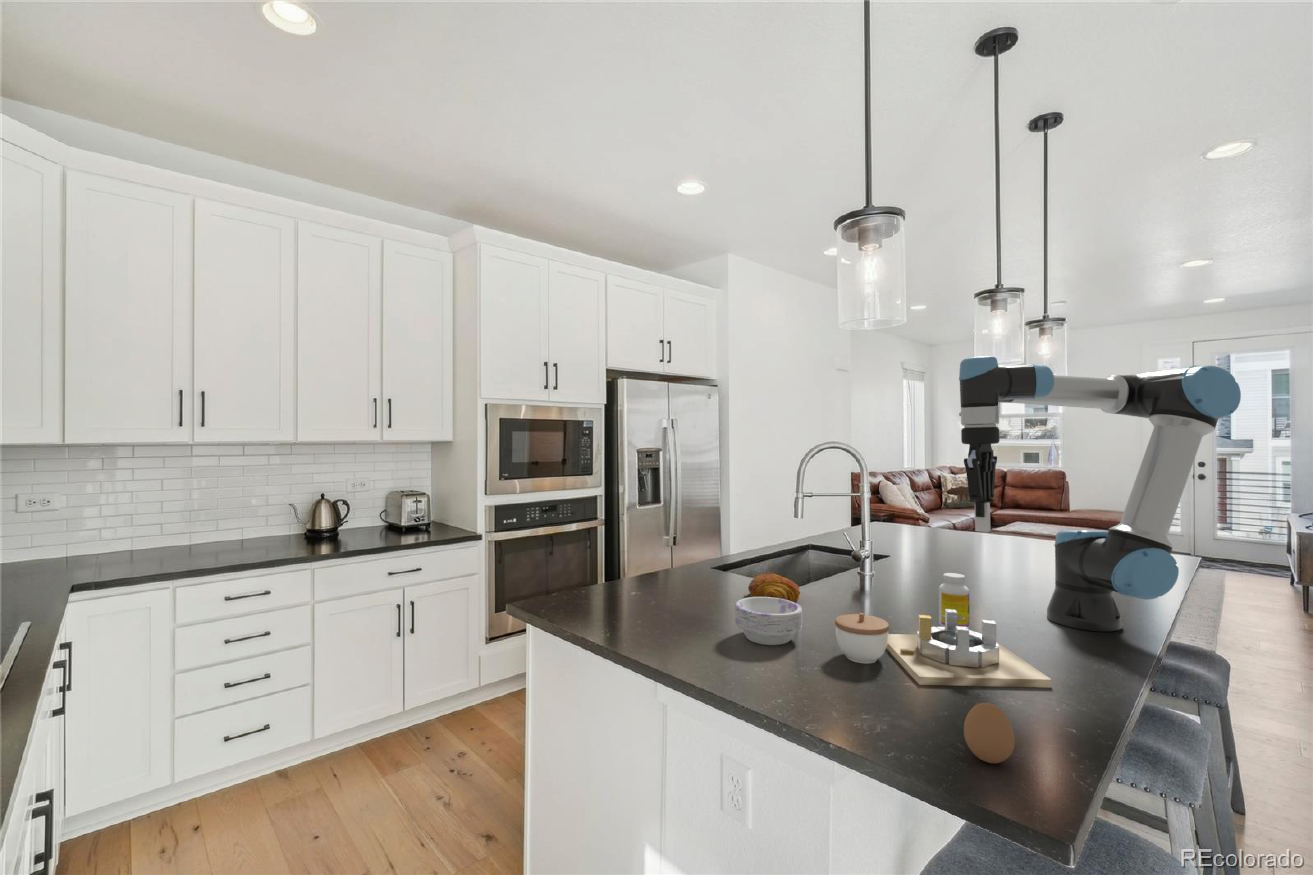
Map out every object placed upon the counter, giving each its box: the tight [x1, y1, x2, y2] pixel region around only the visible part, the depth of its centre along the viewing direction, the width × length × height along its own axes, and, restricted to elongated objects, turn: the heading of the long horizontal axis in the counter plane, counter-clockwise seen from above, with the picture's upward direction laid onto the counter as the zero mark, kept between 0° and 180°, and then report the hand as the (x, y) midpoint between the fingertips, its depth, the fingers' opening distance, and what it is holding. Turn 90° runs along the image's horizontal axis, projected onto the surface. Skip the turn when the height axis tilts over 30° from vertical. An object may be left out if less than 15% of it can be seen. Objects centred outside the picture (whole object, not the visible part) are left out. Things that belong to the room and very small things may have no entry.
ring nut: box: [916, 609, 999, 667], centre depth 123 cm, size 14×14×7 cm
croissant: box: [747, 573, 801, 603], centre depth 170 cm, size 14×16×8 cm
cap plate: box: [886, 633, 1053, 689], centre depth 123 cm, size 24×24×2 cm
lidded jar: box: [834, 612, 890, 665], centre depth 125 cm, size 11×11×9 cm
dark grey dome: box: [939, 632, 974, 647], centre depth 123 cm, size 6×6×4 cm
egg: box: [963, 702, 1016, 764], centre depth 86 cm, size 6×6×8 cm
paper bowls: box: [734, 596, 803, 646], centre depth 137 cm, size 15×15×8 cm
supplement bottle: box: [938, 572, 970, 630], centre depth 145 cm, size 7×7×13 cm
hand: (982, 531), depth 134 cm, fingers closed
